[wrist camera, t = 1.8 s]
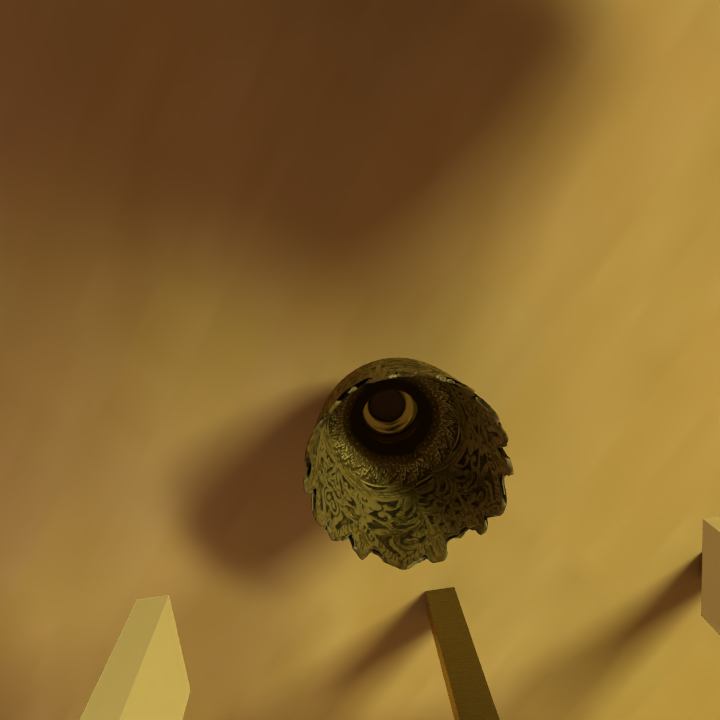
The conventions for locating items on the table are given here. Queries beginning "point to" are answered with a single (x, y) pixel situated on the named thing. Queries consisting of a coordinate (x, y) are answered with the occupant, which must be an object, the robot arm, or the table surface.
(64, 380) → the table surface
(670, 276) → the table surface
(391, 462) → the dark piece
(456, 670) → the trapdoor frame
